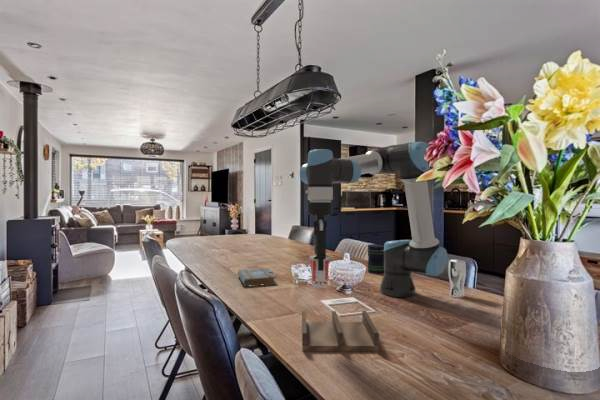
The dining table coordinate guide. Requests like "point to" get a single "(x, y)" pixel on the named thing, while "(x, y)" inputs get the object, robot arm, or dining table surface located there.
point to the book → (256, 276)
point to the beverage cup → (313, 272)
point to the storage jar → (376, 259)
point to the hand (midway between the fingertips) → (319, 278)
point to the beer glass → (457, 277)
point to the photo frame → (345, 301)
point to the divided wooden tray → (339, 335)
